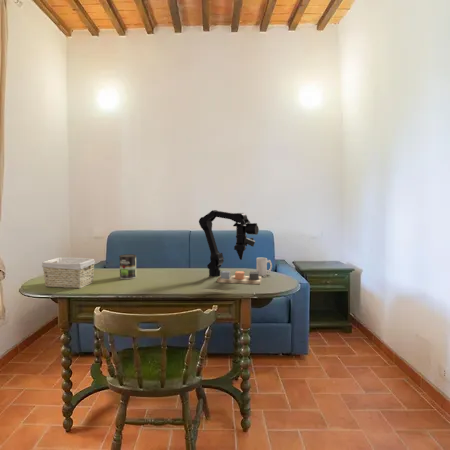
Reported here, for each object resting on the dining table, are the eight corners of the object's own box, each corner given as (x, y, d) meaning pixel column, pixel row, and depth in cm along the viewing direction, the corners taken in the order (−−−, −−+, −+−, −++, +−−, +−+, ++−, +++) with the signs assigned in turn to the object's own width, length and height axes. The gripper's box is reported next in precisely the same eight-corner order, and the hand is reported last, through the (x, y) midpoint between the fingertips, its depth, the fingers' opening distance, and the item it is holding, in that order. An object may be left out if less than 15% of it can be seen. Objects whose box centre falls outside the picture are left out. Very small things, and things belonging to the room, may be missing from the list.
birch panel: (217, 284, 188) (217, 279, 188) (220, 279, 200) (220, 274, 200) (260, 286, 184) (260, 281, 184) (261, 281, 196) (261, 276, 196)
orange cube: (234, 281, 190) (235, 272, 189) (236, 279, 195) (236, 271, 194) (243, 281, 189) (243, 273, 189) (244, 279, 194) (244, 271, 194)
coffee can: (131, 279, 200) (131, 257, 199) (116, 278, 202) (116, 256, 201) (139, 276, 210) (139, 254, 209) (125, 275, 212) (124, 253, 211)
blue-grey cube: (220, 280, 191) (220, 272, 191) (222, 278, 196) (222, 270, 196) (229, 281, 190) (229, 272, 190) (230, 279, 195) (230, 270, 195)
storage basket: (96, 282, 194) (96, 257, 193) (80, 289, 178) (80, 263, 177) (60, 280, 198) (59, 256, 196) (41, 287, 182) (40, 261, 180)
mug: (256, 278, 204) (257, 259, 203) (255, 275, 211) (255, 257, 210) (272, 278, 204) (273, 259, 203) (271, 275, 211) (271, 257, 210)
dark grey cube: (249, 282, 188) (249, 273, 188) (250, 279, 193) (250, 271, 193) (258, 282, 188) (258, 273, 187) (258, 280, 192) (258, 271, 192)
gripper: (253, 235, 185) (253, 262, 186) (255, 232, 203) (255, 257, 204) (234, 235, 186) (234, 262, 187) (237, 232, 205) (237, 256, 206)
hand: (241, 259), depth 196 cm, fingers closed
